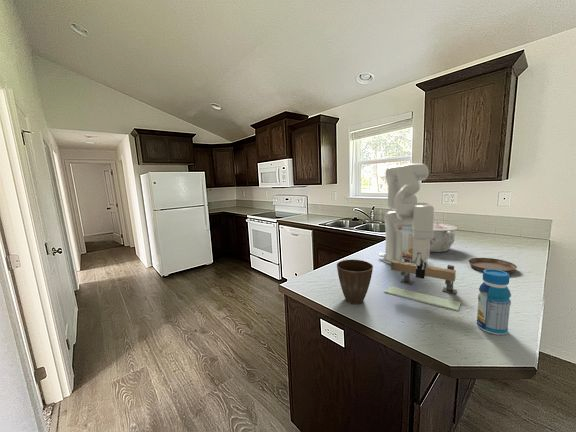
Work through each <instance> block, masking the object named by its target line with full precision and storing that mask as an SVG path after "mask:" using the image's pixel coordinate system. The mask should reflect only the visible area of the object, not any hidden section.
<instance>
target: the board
mask: <svg viewBox="0 0 576 432" xmlns="http://www.w3.org/2000/svg"><path fill="white" fill-rule="evenodd" d="M384 293H386V294H389V295H393V296H397V297H402V298H405V299H408V300H413V301H416V302H421V303H426V304H429V305H433V306H437V307H439V308H440V307H441V308H444V309H447V310H453V311H455V312H459V310H460V306H461V301H457V300H456V301H455V300H452V299H447V298H443V297H438V296H434V295H430V294H427V293H426V294H425V293H421V292H417V291H412V290H409V289H404V288H400V287H396V286H391V285H389V286H388V288H386V289H385V291H384Z"/></svg>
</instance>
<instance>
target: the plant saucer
mask: <svg viewBox="0 0 576 432" xmlns="http://www.w3.org/2000/svg"><path fill="white" fill-rule="evenodd" d="M468 263H469V265H470V266H471V267H472V268H473V269H475V270H477V271H481V272H483V271H484V270H486V269H495V270H500V271H504V272H506V273H508V274H510V273H513V272H514V271H515V270H516V269H517V268H518V267H517V265H516V264H515V263H513V262H510V261H507V260H503V259H499V258H492V257H491V258H489V257H473V258H470V259H468Z"/></svg>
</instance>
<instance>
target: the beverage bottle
mask: <svg viewBox="0 0 576 432" xmlns="http://www.w3.org/2000/svg"><path fill="white" fill-rule="evenodd" d="M510 277H511V276H510V273H506V272H504V271H500V270H495V269H486V270H484V271H482V281H483V282H482V283H481V284H480V285H479V287H478V291H479V293H478V295H477V299H478V301H477V302H478V303H477V314H476V317H477V318H476V325H477V327H478V328H479V329H480V330H482V331H484V332H486V333H489V334H493V335H496V336H497V335H499V336H502V335H506V334H507V333H508V331H509V318H510V310H511V309H510V307H511V304H512V301H511V299H510V298H511V296H512V293H511V290H510V289H509V287H508V285H509V284H510Z"/></svg>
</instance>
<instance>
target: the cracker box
mask: <svg viewBox="0 0 576 432" xmlns="http://www.w3.org/2000/svg"><path fill="white" fill-rule="evenodd" d="M398 229H399V230H400V231H401V232H402V257H405V258H409V259H411V258H412V255H413V244H414V238H413V237H412V236H413V226H411V227H398Z"/></svg>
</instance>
